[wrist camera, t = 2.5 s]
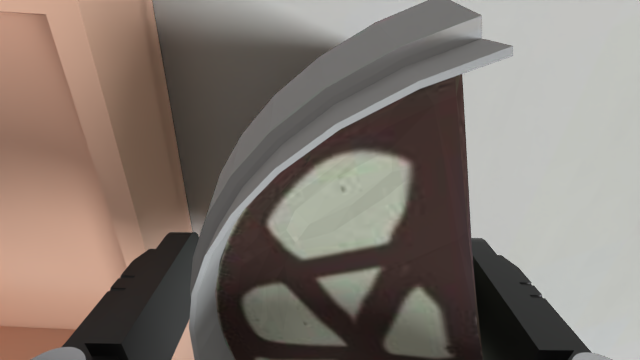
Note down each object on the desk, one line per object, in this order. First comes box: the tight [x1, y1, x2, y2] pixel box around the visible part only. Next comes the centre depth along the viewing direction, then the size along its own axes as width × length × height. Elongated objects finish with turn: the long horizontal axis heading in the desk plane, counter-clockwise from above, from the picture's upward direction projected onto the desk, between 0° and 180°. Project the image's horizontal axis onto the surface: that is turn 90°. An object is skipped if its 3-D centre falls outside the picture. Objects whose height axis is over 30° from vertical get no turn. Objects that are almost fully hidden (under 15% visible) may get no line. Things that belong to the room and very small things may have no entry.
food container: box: [189, 0, 513, 360], centre depth 10 cm, size 12×6×10 cm, turn 16°
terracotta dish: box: [0, 0, 195, 360], centre depth 14 cm, size 16×20×4 cm
